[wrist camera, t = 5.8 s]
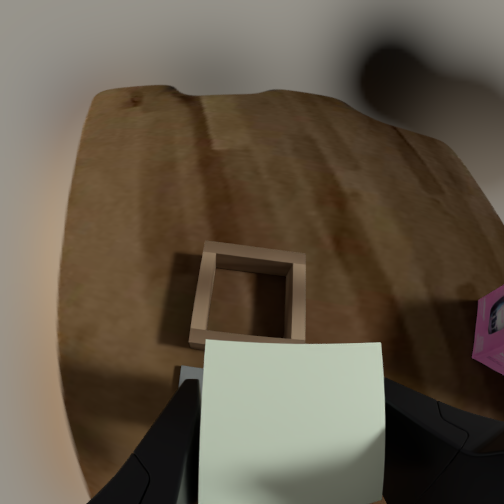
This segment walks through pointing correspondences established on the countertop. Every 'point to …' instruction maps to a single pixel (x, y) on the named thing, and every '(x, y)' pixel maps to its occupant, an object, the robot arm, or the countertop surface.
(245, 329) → the countertop surface
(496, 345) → the gum box
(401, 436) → the robot arm
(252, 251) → the walnut holder
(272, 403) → the sage block
